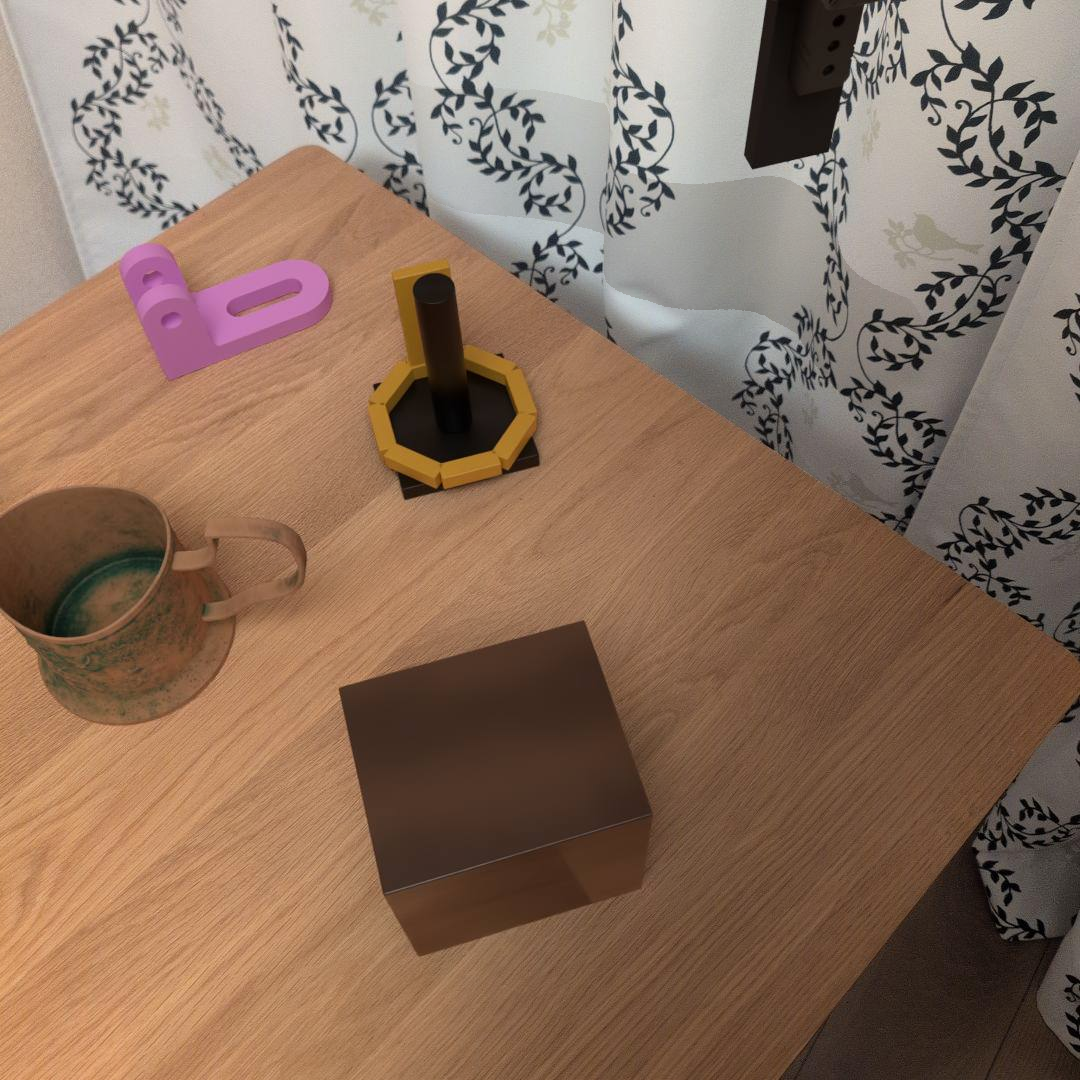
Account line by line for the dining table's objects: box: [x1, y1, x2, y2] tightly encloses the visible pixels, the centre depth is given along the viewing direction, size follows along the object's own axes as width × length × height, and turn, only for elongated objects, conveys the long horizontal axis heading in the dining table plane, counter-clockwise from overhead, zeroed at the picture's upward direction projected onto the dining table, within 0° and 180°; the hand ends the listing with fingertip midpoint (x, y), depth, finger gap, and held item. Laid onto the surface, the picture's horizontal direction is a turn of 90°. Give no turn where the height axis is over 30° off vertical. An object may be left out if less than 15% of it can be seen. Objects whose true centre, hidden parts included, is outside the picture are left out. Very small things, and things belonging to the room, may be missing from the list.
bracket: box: [118, 243, 333, 382], centre depth 79 cm, size 13×6×7 cm, turn 117°
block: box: [338, 619, 654, 957], centre depth 57 cm, size 10×12×12 cm
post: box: [372, 273, 540, 501], centre depth 70 cm, size 9×9×13 cm
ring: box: [366, 258, 538, 490], centre depth 71 cm, size 10×10×9 cm
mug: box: [0, 483, 308, 727], centre depth 64 cm, size 12×18×12 cm, turn 90°
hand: (712, 34), depth 42 cm, fingers open, 13 cm apart
